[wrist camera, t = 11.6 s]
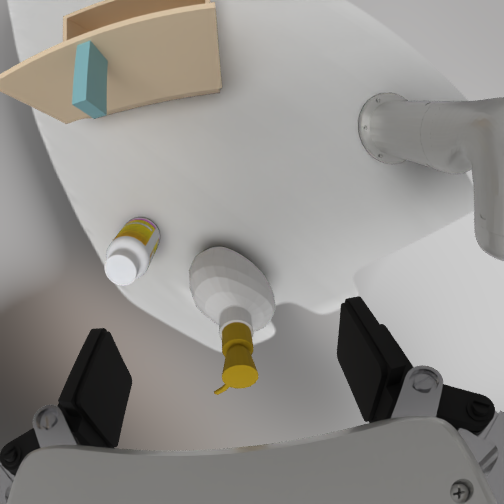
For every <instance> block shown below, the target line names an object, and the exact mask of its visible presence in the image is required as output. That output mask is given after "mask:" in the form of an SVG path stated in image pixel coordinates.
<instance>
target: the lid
mask: <svg viewBox="0 0 504 504" xmlns="http://www.w3.org/2000/svg"><path fill="white" fill-rule="evenodd" d="M219 88H222V82H221V71H220V59H219V47H218V34H217V22H216V9H215V2H213V3H205V4H198V5H191V6H185V7H179V8H174V9H169V10H164V11H159V12H155V13H150V14H146V15H142V16H138V17H134V18H131V19H127V20H124V21H120V22H117V23H114V24H110V25H107V26H104V27H101V28H98V29H95V30H93V31H90V32H87V33H84V34H82V35H79V36H77V37H74V38H72V39H69V40H67V41H64V42H62V43H60V44H57V45H55V46H53V47H51V48H49V49H47V50H44V51H42V52H40V53H38V54H36V55H34V56H32V57H30V58H28V59H26V60H25V61H23V62H21V63H19V64H18V65H16V66H14V67H12V68H10V69H8V70H7V71H5V72H3V73H2V74H0V92H2V93H5V94H7V95H9V96H11V97H13V98H15V99H17V100H19V101H21V102H23V103H25V104H27V105H29V106H31V107H33V108H35V109H37V110H39V111H41V112H43V113H45V114H47V115H49V116H51V117H53V118H55V119H57V120H59V121H61V122H63V123H65V124H68V123H71V122H74V121H77V120H80V119H83V118H86V117H89V116H90V117H92V118H94V119H95V118H99V117H102V116H106V115H107V111H109V110H113V109H117V108H121V107H124V106H128V105H132V104H137V103H141V102H145V101H150V100H154V99H159V98H164V97H169V96H174V95H180V94H186V93H192V92H198V91H205V90H212V89H219Z"/></svg>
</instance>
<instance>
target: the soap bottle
mask: <svg viewBox="0 0 504 504" xmlns="http://www.w3.org/2000/svg"><path fill="white" fill-rule="evenodd" d="M189 279H190V291H191V293H192V296H193V299H194V301H195V304H196V307H197V308H198V309H199V310H200V311H201V312H202V313H203V314H204V315H205V316H207V317H208V318H209V319H211V320H212V321H213V322H214V323H216V324H217V325H219V335H220V338H221V340H222V353H223V355H224V356H225V357H226V358H225V364H224V369H223V373H222V380H223V382H224V383H225V384H224V385H223V386H222V387H221V388H219V389H217V390H216V391H214V393H215V394H217V395H218V394H220V393H222V392H224V391H226V390H227V389H228V388H229V387H233V388H245V387H249V386H251V385H253V384H254V383H255V382H256V381H257V379H258V372H257V370H256V367H255V364H254V362H253V359H252V356H251V355H252V353H253V342H252V337H253V332H255V331H258V330H260V329H262V328H264V327H265V326H266V325H267V324H268V323H269V322H270V320H271V319H272V316H273V314H274V312H275V300H274V295H273V291H272V288H271V286H270V284H269V282H268V280H267V278H266V277H265V276H264V274H263V273H262V272H261V271H260V270H259V269H258V268H257V267H256V266H255V265H254V264H253V263H252V262H251V261H249V260H248V259H247V258H245V257H244V256H242V255H241V254H239V253H237V252H235V251H233V250H231V249H228V248H225V247H213V248H210V249H207V250H205V251H203V252H201V253H199V254H198V255H197V256H196V257H195V259H194V261H193V263H192V265H191V267H190V270H189Z"/></svg>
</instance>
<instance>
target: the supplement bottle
mask: <svg viewBox="0 0 504 504" xmlns="http://www.w3.org/2000/svg"><path fill="white" fill-rule="evenodd" d="M159 241H160V234H159V230H158V228H157V226H156V225H155V224H154V223H153V222H152V221H150V220H148V219H146V218H134V219H132V220H130V221H129V222H128V223H127V224H126V225H125V226H124V227H123V229H122V230H121V231H120V232H119V234H118V235H117V236H116V237H115V238H114V240H113V241H112V242H111V243H110V245H109V247H108V249H107V252H106V262H105V273H106V275H107V277H108V278H109V279H110V280H111V281H112V282H113V283H115V284H117V285H121V286H126V285H129V284H131V283H132V282H133V281H134V280H135V279H137V278H139V277H141V276H142V275H144V273H145V272H146V271H147V269H148V267H149V264H150V262H151V260H152V258H153V256H154V254H155V251H156V249H157V247H158V244H159Z"/></svg>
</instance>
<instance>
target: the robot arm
mask: <svg viewBox="0 0 504 504" xmlns="http://www.w3.org/2000/svg"><path fill="white" fill-rule="evenodd" d="M363 127H364V129H363ZM359 134H360V138H361V141H362V143H363V145H364V147H365V149H366V150H367V151H368V152H369V154H370V155H371V156H373V157H374V158H375V159H377V160H379V161H381V162H384V163H387V164H399V163H402V162H404V161H406V160H408V161H411V162H415V163H418V164H421V165H424V166H427V167H430V168H433V169H436V170H439V171H443V172H446V173H449V174H461V173H465V172H467V171H469V170H471V169H472V175H473V183H474V223H475V224H474V225H475V235H476V240H477V242H478V244H479V246H480V247H481V248H482V250H483V251H485V252H486V253H487V254H489V255H490V256H492V257H494V258H497V259H499V260H502V261H504V98H493V99H486V100H478V101H461V102H458V101H408V100H406V99H405V98H403V97H402V96H400V95H397V94H393V93H382V94H378V95H376V96H374V97H372V98H371V99H369V100H368V101H367V103H366V104H365V105H364V107H363V109H362V111H361V114H360V117H359ZM378 155H379V156H378ZM337 357H338V361H339V363H340V365H341V368H342V370H343V372H344V375H345V377H346V379H347V381H348V384H349V386H350V388H351V391H352V393H353V395H354V397H355V400H356V402H357V405H358V407H359V409H360V412H361V414H362V416H363V419H364V421H366V422H367V421H369V424H364V425H361V426H357V427H353V428H348V429H345V430H340V431H336V432H331V433H327V434H322V435H317V436H312V437H308V438H302V439H297V440H291V441H285V442H279V443H272V444H264V445H257V446H248V447H239V448H227V449H212V450H189V451H155V450H153V451H152V450H131V449H116V448H114V447H117V446H118V442H119V437H120V433H121V428H122V423H123V419H124V414H125V410H126V406H127V401H128V397H129V393H130V389H131V386H132V378H131V375H130V373H129V371H128V369H127V367H126V365H125V363H124V361H123V359H122V357H121V355H120V353H119V351H118V348H117V346H116V344H115V342H114V340H113V337H112V335H111V333H110V332H107V330H106V329H104V328H100V329H92V330H91V331H90V333H89V335H88V337H87V339H86V341H85V343H84V345H83V347H82V349H81V351H80V353H79V355H78V357H77V359H76V361H75V364H74V366H73V368H72V370H71V372H70V375H69V377H68V379H67V381H66V384H65V386H64V388H63V391H62V393H61V395H60V398H59V400H58V401H59V404H58V406H55V405H46V406H44V407H42V408H40V409H39V410H38V411H37V412H36V414H35V416H34V418H33V427H34V428H33V429H31V430H29V431H28V432H26V433H24V434H23V435H21V436H19V437H18V438H16V439H14V440H13V441H11V442H9V443H8V444H7V445H6V446H4V447H3V449H2V451H1V453H0V504H504V412H502V411H500V412H499V413H497V412H496V411H495V407H494V404H493V403H492V401H491V400H490V399H489V398H487V397H486V396H484V395H481V394H477V393H473V392H469V391H466V390H462V389H458V388H454V387H451V386H448V385H444V384H443V379H442V376H441V374H440V373H439V372H438V371H437V370H435V369H434V368H432V367H429V366H417V367H413V366H412V364H411V363H410V361H409V360H408V358H407V357H406V356H405V354H404V352H403V351H402V349H401V348H400V347H399V345H398V344H397V342H396V341H395V339H394V338H393V336H392V335H391V333H390V332H389V331H388V329H387V328H386V326H385V325H383V324H379V323H378V321H377V320H376V318H375V317H374V315H373V314H372V312H371V311H370V310H369V308H368V307H367V305H366V304H365V302H364V301H363V300H362V298H361V297H353V298H348V299H346V300H345V303H342V304H341V313H340V325H339V336H338V346H337Z"/></svg>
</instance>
